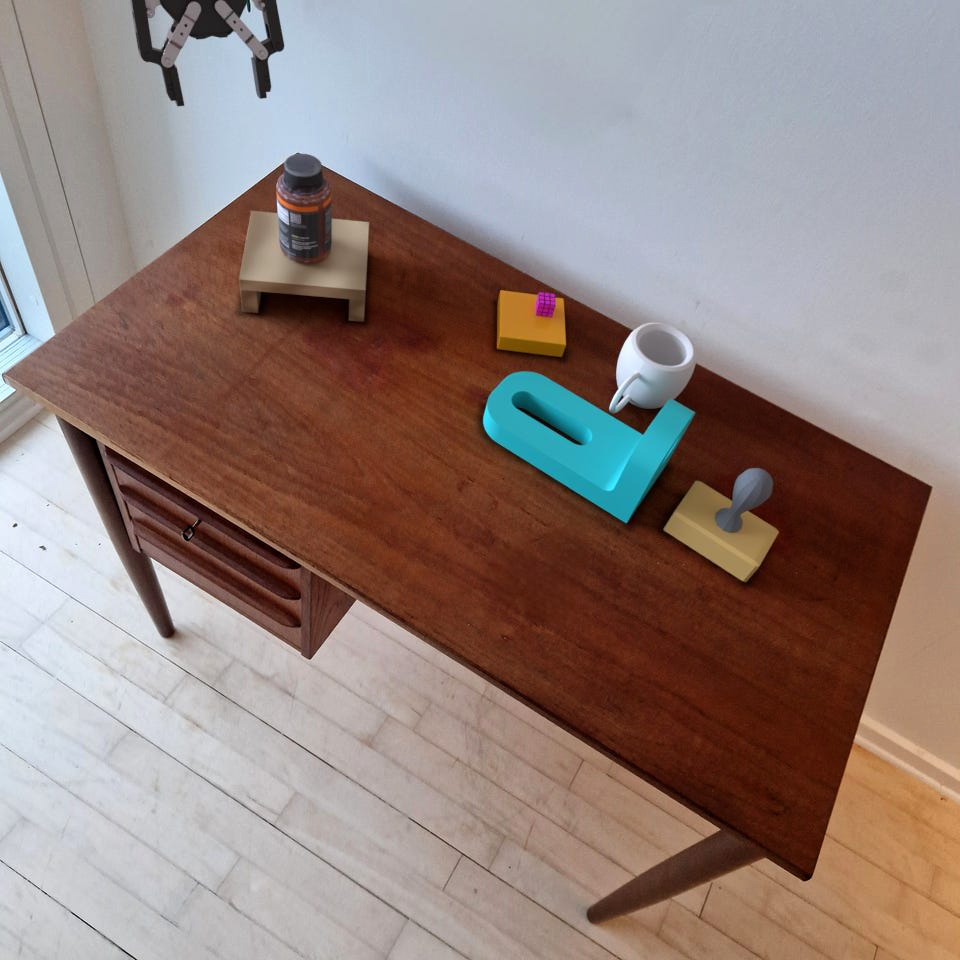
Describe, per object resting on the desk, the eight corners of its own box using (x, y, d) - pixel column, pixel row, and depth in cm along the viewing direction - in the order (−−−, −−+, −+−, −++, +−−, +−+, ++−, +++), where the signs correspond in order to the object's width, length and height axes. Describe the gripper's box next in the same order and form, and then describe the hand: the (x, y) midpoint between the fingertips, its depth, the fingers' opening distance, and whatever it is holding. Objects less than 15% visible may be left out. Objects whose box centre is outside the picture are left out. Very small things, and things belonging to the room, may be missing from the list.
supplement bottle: (325, 229, 100) (325, 145, 91) (336, 263, 97) (338, 179, 88) (274, 234, 99) (270, 148, 89) (284, 268, 96) (281, 183, 86)
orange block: (562, 357, 101) (570, 332, 98) (496, 349, 100) (502, 323, 97) (559, 311, 106) (567, 285, 102) (497, 303, 105) (503, 277, 102)
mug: (635, 354, 104) (656, 307, 97) (690, 394, 101) (715, 349, 95) (575, 401, 98) (593, 355, 91) (632, 446, 95) (654, 401, 89)
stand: (242, 312, 98) (238, 279, 94) (253, 243, 104) (251, 210, 100) (363, 321, 100) (365, 290, 96) (367, 254, 106) (369, 222, 102)
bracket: (664, 467, 94) (703, 399, 84) (626, 523, 89) (663, 457, 79) (515, 378, 98) (536, 304, 89) (471, 426, 93) (488, 352, 84)
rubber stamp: (765, 547, 90) (819, 484, 80) (744, 584, 87) (797, 523, 77) (685, 496, 92) (728, 429, 82) (661, 531, 89) (703, 465, 79)
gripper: (112, -77, 74) (155, 117, 84) (273, -83, 79) (296, 102, 89) (106, -84, 80) (147, 99, 90) (257, -88, 84) (280, 86, 94)
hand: (221, 100), depth 89 cm, fingers open, 8 cm apart
